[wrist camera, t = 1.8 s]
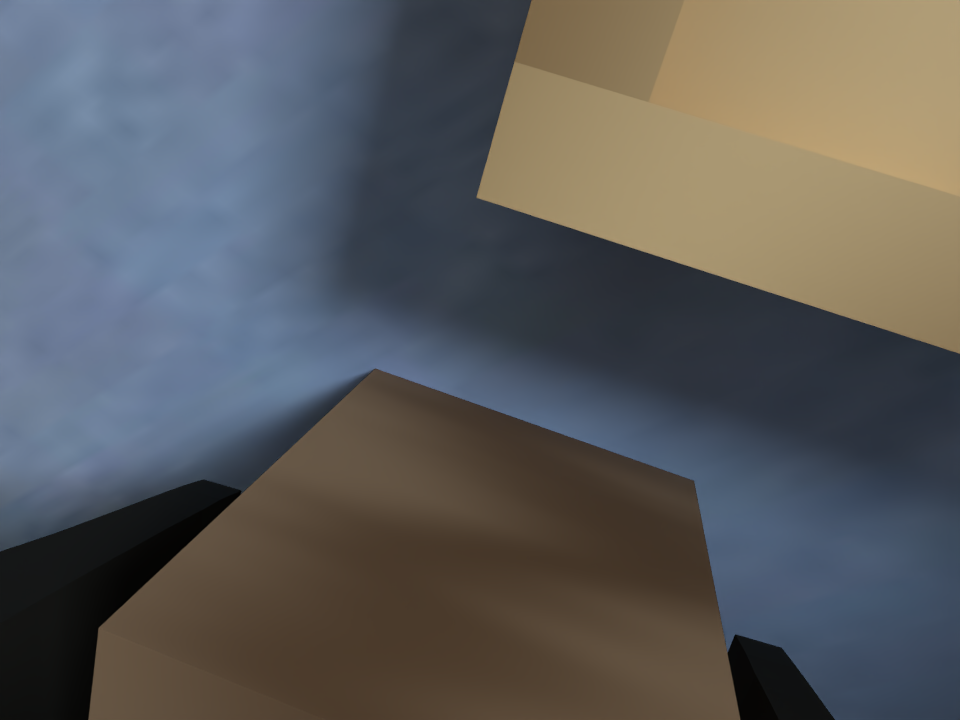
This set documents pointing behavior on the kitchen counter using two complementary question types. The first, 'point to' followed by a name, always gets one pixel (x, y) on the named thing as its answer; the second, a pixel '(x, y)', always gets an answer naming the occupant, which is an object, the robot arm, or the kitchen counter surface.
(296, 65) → the kitchen counter surface
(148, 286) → the kitchen counter surface
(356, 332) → the kitchen counter surface
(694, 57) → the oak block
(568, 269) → the kitchen counter surface
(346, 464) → the walnut cube
